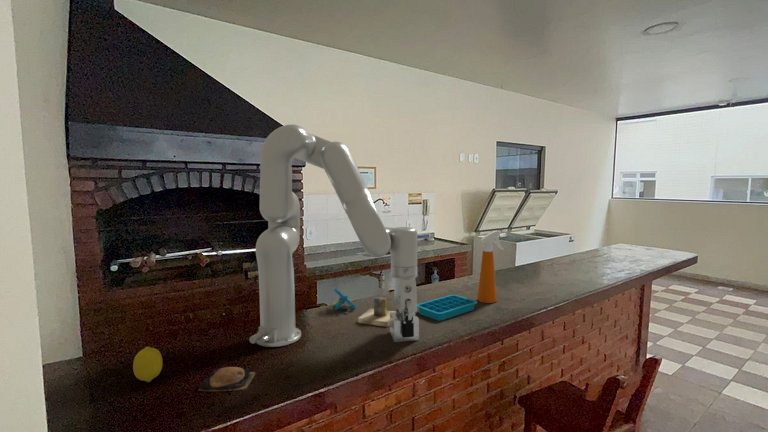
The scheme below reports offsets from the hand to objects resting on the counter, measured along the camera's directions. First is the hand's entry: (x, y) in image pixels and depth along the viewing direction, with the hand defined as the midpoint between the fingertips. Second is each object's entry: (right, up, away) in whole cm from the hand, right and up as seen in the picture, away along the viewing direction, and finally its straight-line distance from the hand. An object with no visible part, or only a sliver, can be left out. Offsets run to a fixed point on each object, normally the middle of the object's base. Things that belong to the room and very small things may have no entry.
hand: (404, 330), depth 107 cm
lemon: (-58, -4, -24) cm, 63 cm away
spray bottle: (+35, +1, +34) cm, 48 cm away
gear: (-20, 0, +25) cm, 32 cm away
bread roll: (-41, -5, -24) cm, 47 cm away
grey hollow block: (0, -2, 0) cm, 2 cm away
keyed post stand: (-8, -1, +14) cm, 16 cm away
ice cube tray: (+16, -1, +22) cm, 27 cm away
